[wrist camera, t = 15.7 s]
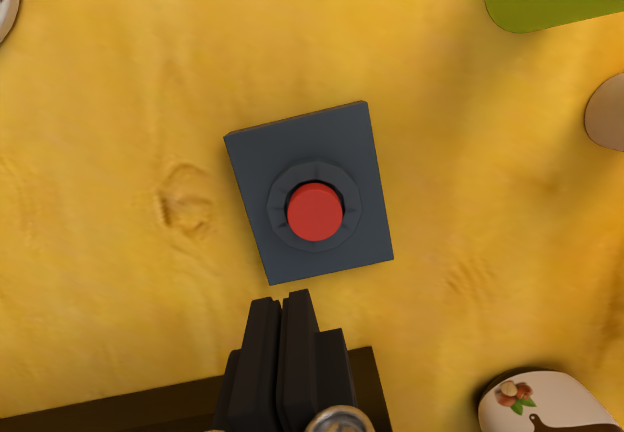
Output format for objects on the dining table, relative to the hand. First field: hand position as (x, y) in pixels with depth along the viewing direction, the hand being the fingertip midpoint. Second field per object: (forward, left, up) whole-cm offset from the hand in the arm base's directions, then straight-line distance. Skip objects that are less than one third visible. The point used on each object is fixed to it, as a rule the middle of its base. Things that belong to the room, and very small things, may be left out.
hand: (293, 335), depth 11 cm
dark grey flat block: (+1, +1, -19) cm, 19 cm away
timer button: (+1, +1, -15) cm, 15 cm away
